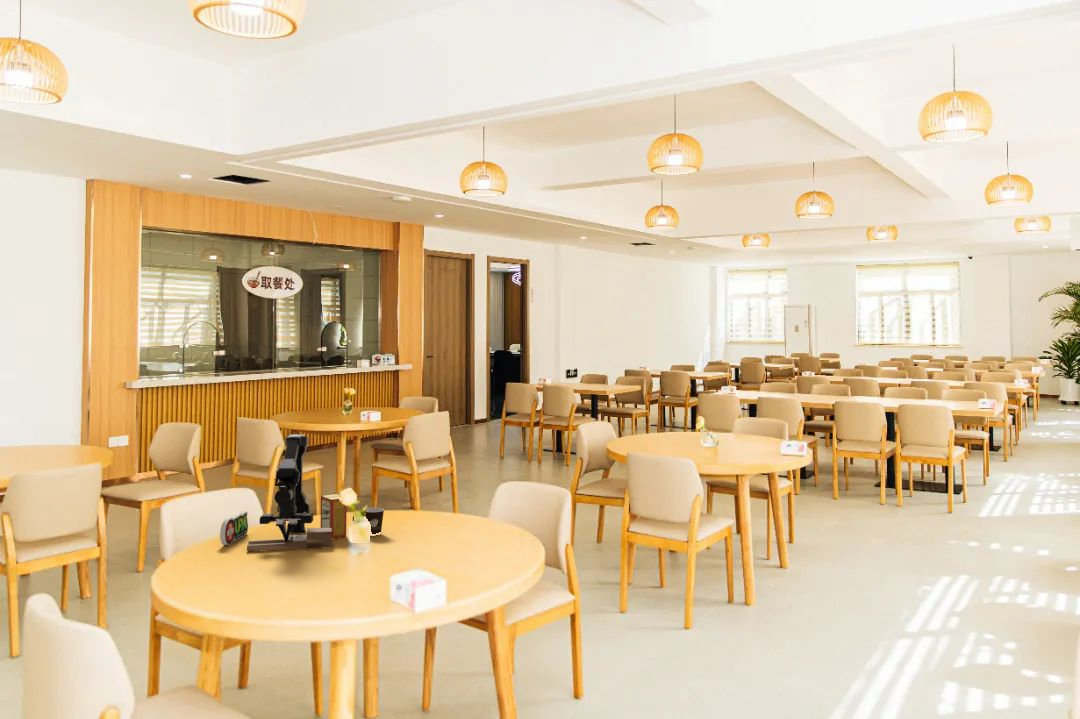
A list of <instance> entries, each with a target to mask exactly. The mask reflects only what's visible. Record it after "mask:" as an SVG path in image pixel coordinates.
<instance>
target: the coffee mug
mask: <svg viewBox="0 0 1080 719" xmlns="http://www.w3.org/2000/svg"><path fill="white" fill-rule="evenodd" d="M365 509H366V515H365V516H366V518H367V519H368V521H369V522H370V524H371V532H372V534H376V533H379V532H381V533H382V528H383V527H382V526H383V520H384V512H385V509H384V508H382V507H367V508H365ZM352 521H353V522H354V521H355V517H354V515H353V516H352Z"/></svg>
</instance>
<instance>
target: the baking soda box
mask: <svg viewBox="0 0 1080 719" xmlns="http://www.w3.org/2000/svg"><path fill="white" fill-rule="evenodd" d="M339 496H341V495H340V494H337V493H336V494H327V495H325V494H324V495H320V528H326V527H331V528H332V538H336V539H339V538H338V537H342V538H346V537H347V511H348V510H347V506H345V505H343V504H342V503H341V502H340V501H339Z"/></svg>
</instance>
